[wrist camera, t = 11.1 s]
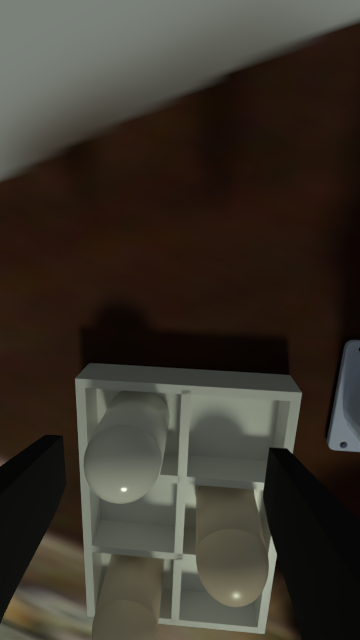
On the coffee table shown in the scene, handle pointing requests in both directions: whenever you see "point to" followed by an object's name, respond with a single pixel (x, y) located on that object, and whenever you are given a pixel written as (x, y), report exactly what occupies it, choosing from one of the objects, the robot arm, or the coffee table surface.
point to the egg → (127, 447)
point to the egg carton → (187, 503)
